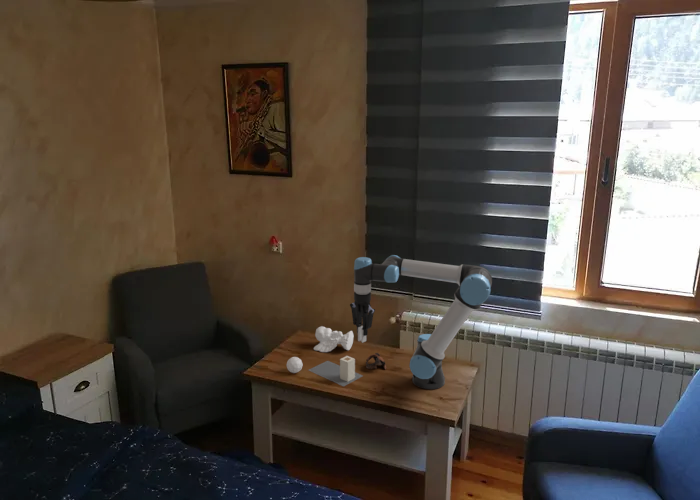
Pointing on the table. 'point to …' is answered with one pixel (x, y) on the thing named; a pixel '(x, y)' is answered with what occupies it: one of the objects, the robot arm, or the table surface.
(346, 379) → the cream block
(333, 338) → the cherub figurine
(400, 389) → the table surface
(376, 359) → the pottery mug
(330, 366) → the grey mat
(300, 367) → the geometric ball
